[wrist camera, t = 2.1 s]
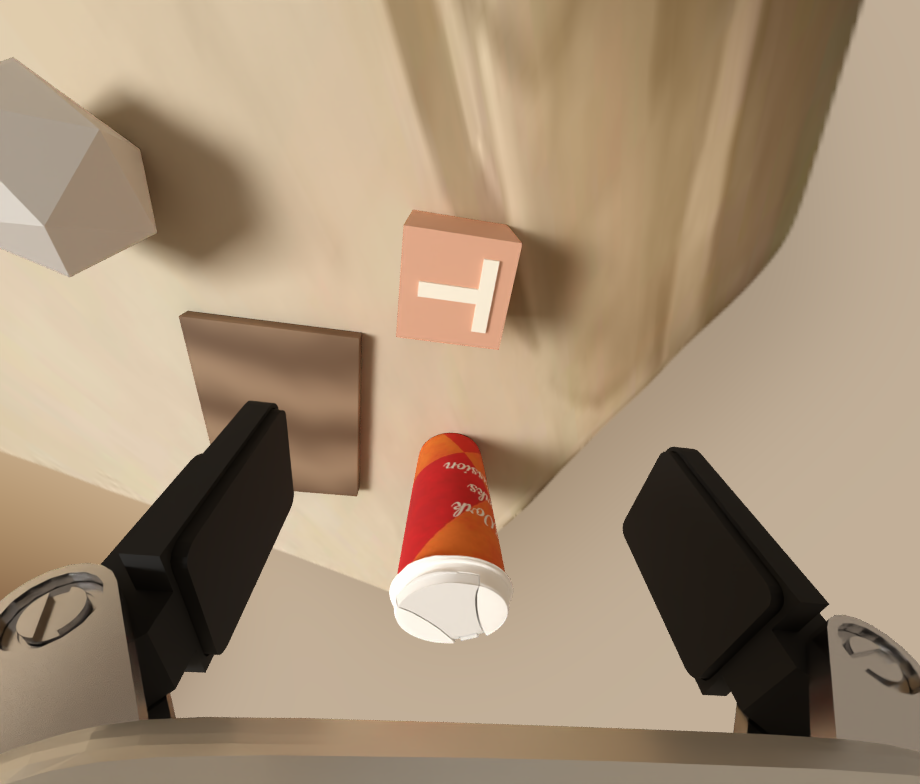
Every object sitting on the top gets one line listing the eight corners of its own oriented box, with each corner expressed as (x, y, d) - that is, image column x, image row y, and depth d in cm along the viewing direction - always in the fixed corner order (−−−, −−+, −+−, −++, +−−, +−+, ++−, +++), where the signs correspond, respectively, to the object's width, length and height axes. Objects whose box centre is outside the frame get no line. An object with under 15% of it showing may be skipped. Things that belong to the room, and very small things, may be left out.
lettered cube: (412, 209, 24) (403, 225, 19) (506, 224, 25) (523, 244, 19) (405, 302, 27) (395, 338, 22) (489, 313, 28) (499, 351, 22)
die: (42, 34, 20) (-253, 64, 14) (149, 80, 17) (-151, 137, 12) (133, 195, 26) (-46, 258, 21) (220, 243, 24) (45, 327, 19)
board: (187, 311, 27) (178, 316, 26) (361, 332, 28) (358, 338, 27) (226, 477, 35) (220, 485, 34) (359, 488, 36) (356, 496, 35)
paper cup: (503, 473, 36) (531, 632, 24) (428, 496, 37) (419, 657, 25) (474, 409, 32) (491, 562, 20) (391, 437, 33) (361, 596, 21)
